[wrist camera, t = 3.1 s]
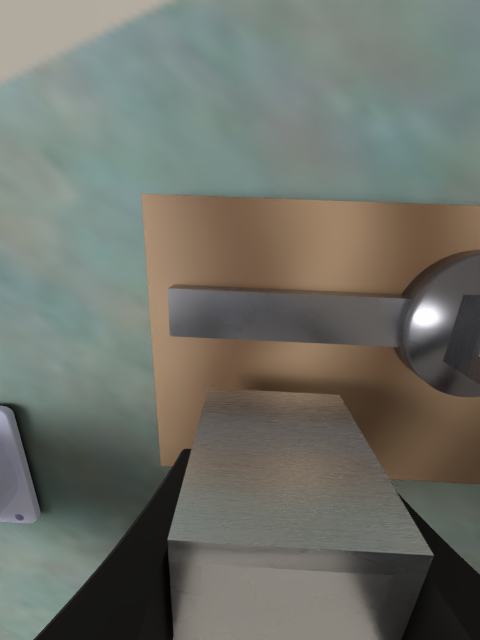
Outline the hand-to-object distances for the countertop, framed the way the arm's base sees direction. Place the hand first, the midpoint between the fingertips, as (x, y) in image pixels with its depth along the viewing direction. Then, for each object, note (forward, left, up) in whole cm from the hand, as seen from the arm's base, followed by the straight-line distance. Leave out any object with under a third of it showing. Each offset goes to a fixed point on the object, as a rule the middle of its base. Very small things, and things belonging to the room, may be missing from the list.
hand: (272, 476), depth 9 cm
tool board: (+4, +3, -4) cm, 7 cm away
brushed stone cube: (0, 0, -1) cm, 1 cm away
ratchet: (+3, +5, -3) cm, 6 cm away
